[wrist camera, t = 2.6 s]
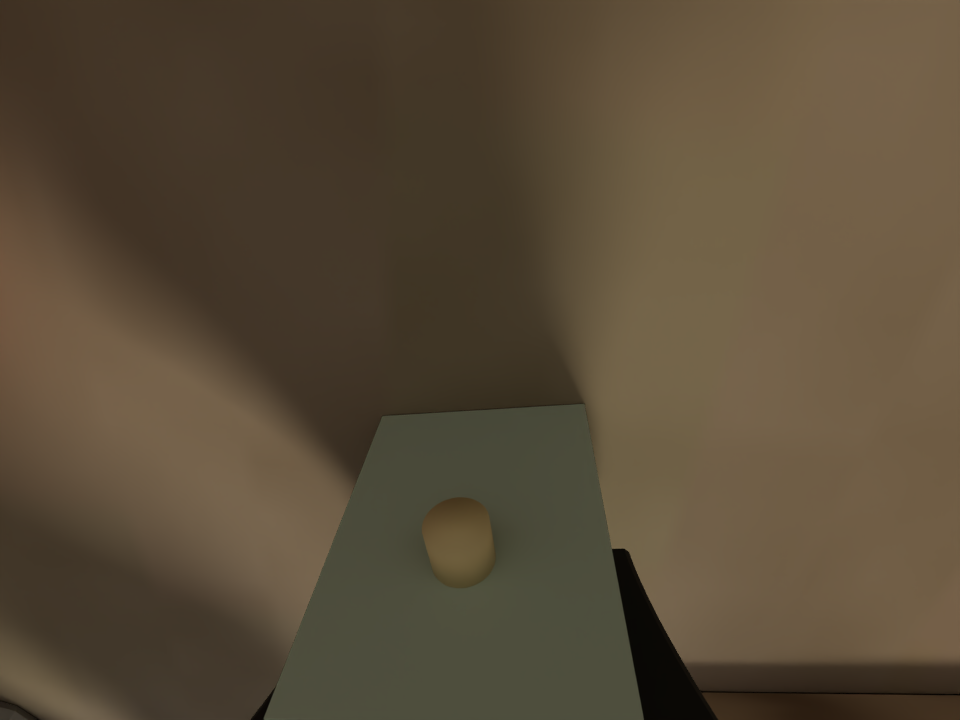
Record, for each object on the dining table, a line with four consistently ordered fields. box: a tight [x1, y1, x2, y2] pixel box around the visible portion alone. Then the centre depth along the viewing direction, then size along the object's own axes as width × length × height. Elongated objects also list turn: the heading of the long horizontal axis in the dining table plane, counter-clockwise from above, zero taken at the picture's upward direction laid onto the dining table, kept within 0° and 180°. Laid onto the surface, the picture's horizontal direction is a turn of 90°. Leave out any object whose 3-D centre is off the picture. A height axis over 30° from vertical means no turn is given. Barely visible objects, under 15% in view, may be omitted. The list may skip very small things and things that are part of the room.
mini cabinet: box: [264, 404, 644, 720], centre depth 10 cm, size 4×8×6 cm, turn 8°
